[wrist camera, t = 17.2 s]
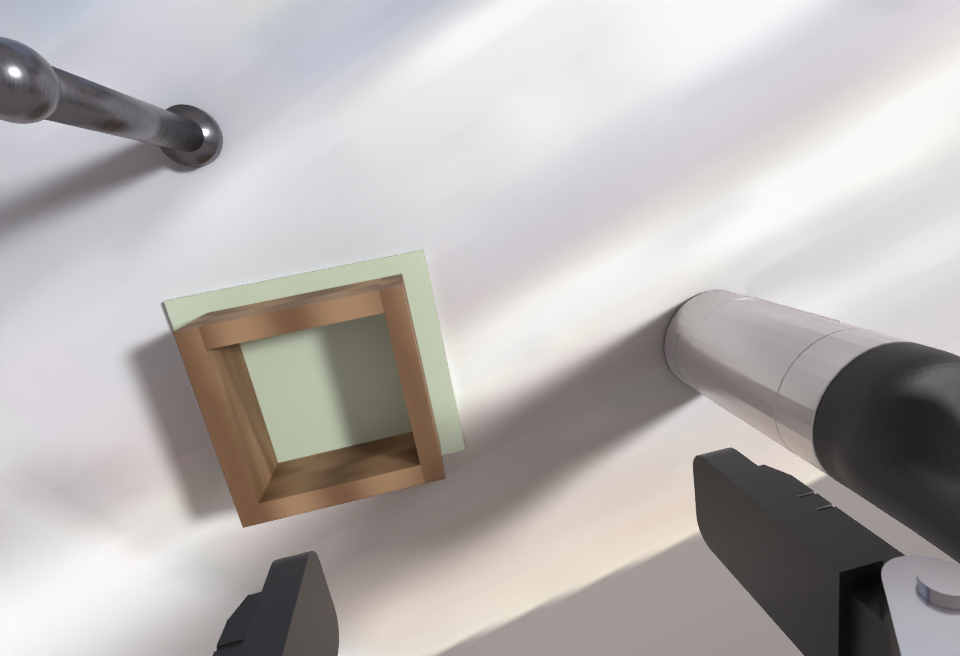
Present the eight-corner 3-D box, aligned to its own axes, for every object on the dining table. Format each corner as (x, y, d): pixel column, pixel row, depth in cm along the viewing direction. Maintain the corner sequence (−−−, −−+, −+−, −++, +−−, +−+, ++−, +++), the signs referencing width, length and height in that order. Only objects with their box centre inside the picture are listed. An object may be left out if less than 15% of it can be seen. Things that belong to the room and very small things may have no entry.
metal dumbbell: (212, 102, 36) (14, 0, 17) (229, 161, 37) (60, 121, 19) (154, 112, 35) (-111, 17, 17) (173, 170, 36) (-57, 140, 18)
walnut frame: (402, 273, 40) (402, 285, 34) (439, 442, 44) (445, 478, 38) (207, 312, 39) (173, 332, 33) (264, 483, 43) (243, 527, 37)
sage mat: (423, 249, 40) (423, 250, 40) (465, 448, 45) (465, 450, 45) (166, 300, 38) (163, 301, 38) (237, 502, 43) (236, 504, 43)
